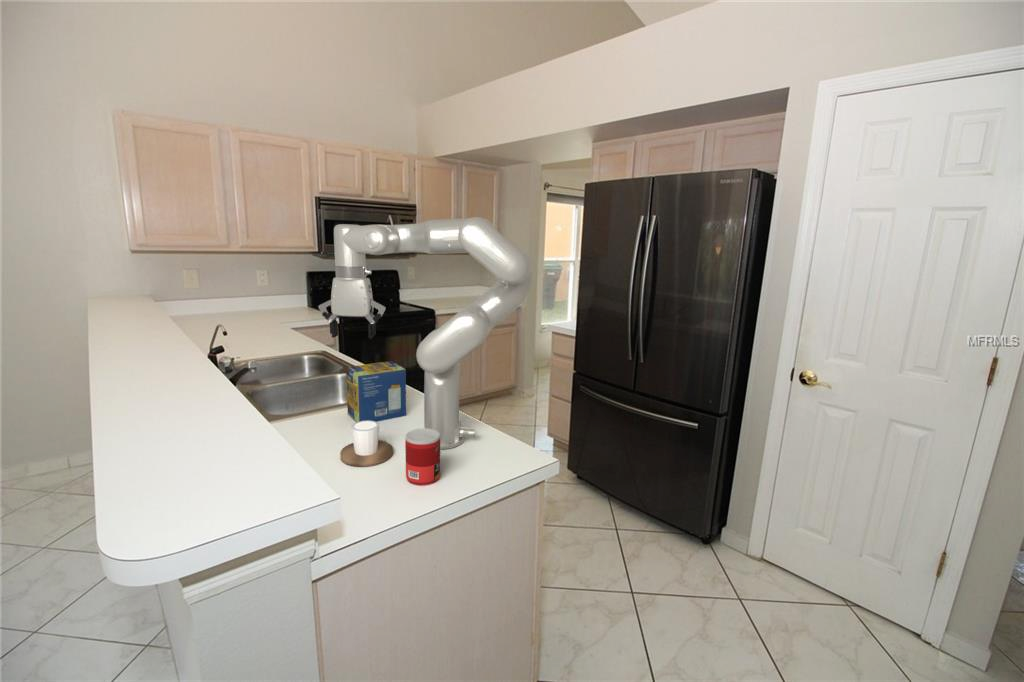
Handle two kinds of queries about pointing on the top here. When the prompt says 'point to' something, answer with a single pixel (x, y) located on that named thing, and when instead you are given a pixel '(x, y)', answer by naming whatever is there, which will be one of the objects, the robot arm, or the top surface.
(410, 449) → the canned food
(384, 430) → the top surface
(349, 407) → the protein box
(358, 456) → the brown round coaster
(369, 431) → the white cup
